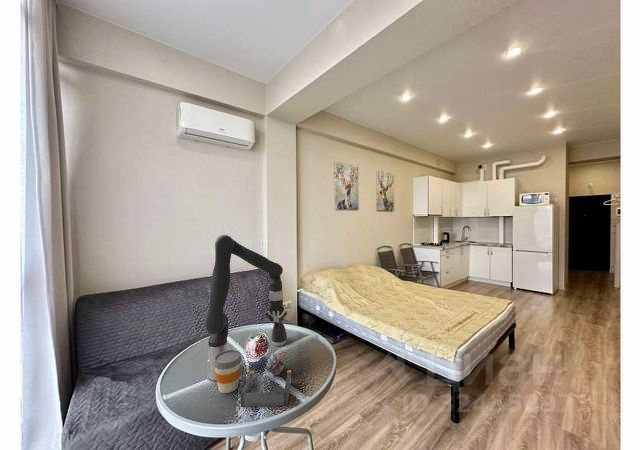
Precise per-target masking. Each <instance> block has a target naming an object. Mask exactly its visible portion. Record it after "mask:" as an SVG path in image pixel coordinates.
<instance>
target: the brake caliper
mask: <svg viewBox="0 0 640 450" xmlns="http://www.w3.org/2000/svg"><path fill="white" fill-rule="evenodd" d="M285 355H286V353H285V352H284V353H283V354H282V355H281V356H280V355H278V354H277V352H271V354H270V357H268V362H265V365H266V370H267V371H268V372H269V373H271V374H273V375H274V376H279V375H280V374H281V372H282V371H283V369H284V367H285V363H286V362H285V361H282V359H283V357H284V356H285Z"/></svg>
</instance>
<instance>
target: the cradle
mask: <svg viewBox="0 0 640 450" xmlns="http://www.w3.org/2000/svg"><path fill="white" fill-rule="evenodd" d="M286 373H287V374H286V375H287V376H286V380H285V386H284V388H283V389H284V390H283V391H278V392H274V391H272V392H252V388H253V386H254V374H255V370H250V371H249V373H248V374H249V375H248V377H247V380H246V382H245V384H244V387H243V389H242V391H241V393H240V408H245V407H246V408H249V407H254V408H255V407H288V402H289V396H290V391H291V386H290V385H292V370H291V369H288V370H287V371H286Z"/></svg>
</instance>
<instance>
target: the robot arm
mask: <svg viewBox="0 0 640 450" xmlns="http://www.w3.org/2000/svg"><path fill="white" fill-rule="evenodd" d="M214 249H215V250H214V251H215V252H214V255H215V257H214V259H215V260H214V266H213V269H212V274H211V280H210V291H209V293H210V294H209V303H208V304H209V305H208V306H209V307H208V310H207V311H208V312H207V315H206V316H207V317H206V321H205V328H206V331H207V332H208V334H209V338H208V342H207V343H208V359H207V362H206V367H207V369H206V370H207V371H206V372H207V380H211V381H216V376H215V366H214V359H215V356H216V355H218V354H219V353H221V352H224V351H227V350H228V336H229V317H228V315H227V314H226V312H224V308H225V304H226V301H227V299H228V294H229V291H230V284H231V259H232V255H233V256H234V255H235V256H237V257H239V258H240V259H242V260H243V261H245V262H246V263H248V264H250V265H252V266H253V267H255V268H258V269H260V270H262V271H263V272H266V273H268V279H269V296H268V297H269V308H268V311H266V312H265V316H266V317H267V318H268V319H269V321H270V322H273V327H274V328H275V329H278V328H279V322H280V321H281V322H283V320H284V319H285V317H286V316H287V315H288V310H287V311H286V310H285V309H284V294H283V282H282V280H281V279H282V278H281V275H283V271H284V269H283V266H282V265H281V264H279V263H277V262H274V261H273V260H270V259H268V258H267V257H265V256H264V255H262V254H260V253H258V252H256V251H253V250H252V249H249V248H247V247H245V246H243V245H241V244H240V243H238V242H237V241H236V240H234V239H233V238H232V237H231V236H230V235H228V234H222V235H219V236H218V237H217V238H216V239H215V242H214ZM281 315H282V316H281Z"/></svg>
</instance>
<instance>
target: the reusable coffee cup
mask: <svg viewBox="0 0 640 450" xmlns="http://www.w3.org/2000/svg"><path fill="white" fill-rule="evenodd" d="M242 359H243V358H242V353H241V351H239V350H236V349H229V350H228V349H227V351H224V352H221V353H219V354H218V355H216V356H215V359H214V366H215V376H216V380H215V381H216V382H217V388H218V392H220V393H222V394H228V393H232V392H234V391H236V390H237V388H238V387H239V382H240V381H239V380H240V376H241V370H242V364H241V363H242Z"/></svg>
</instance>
